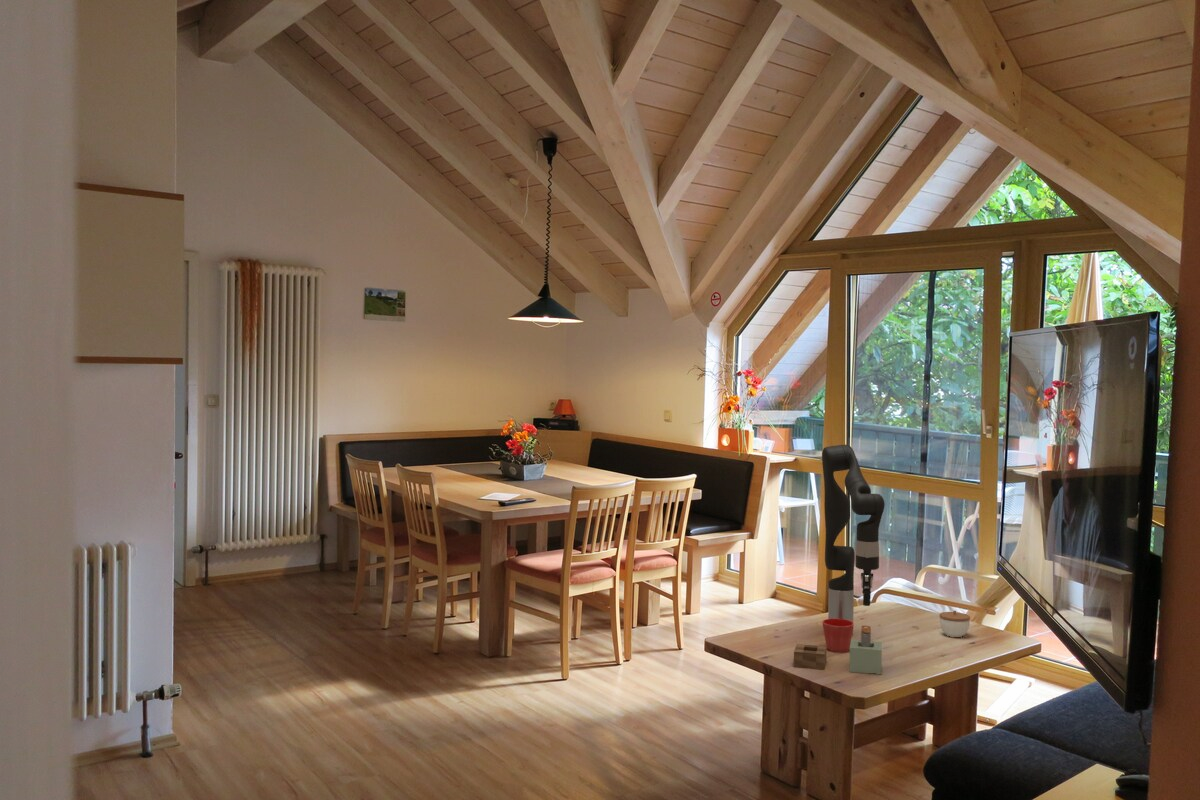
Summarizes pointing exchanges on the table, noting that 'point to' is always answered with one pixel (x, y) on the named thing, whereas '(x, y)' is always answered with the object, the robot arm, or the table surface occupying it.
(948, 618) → the lidded jar
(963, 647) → the table surface
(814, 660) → the mount
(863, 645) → the pin
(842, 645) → the flower pot
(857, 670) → the block
